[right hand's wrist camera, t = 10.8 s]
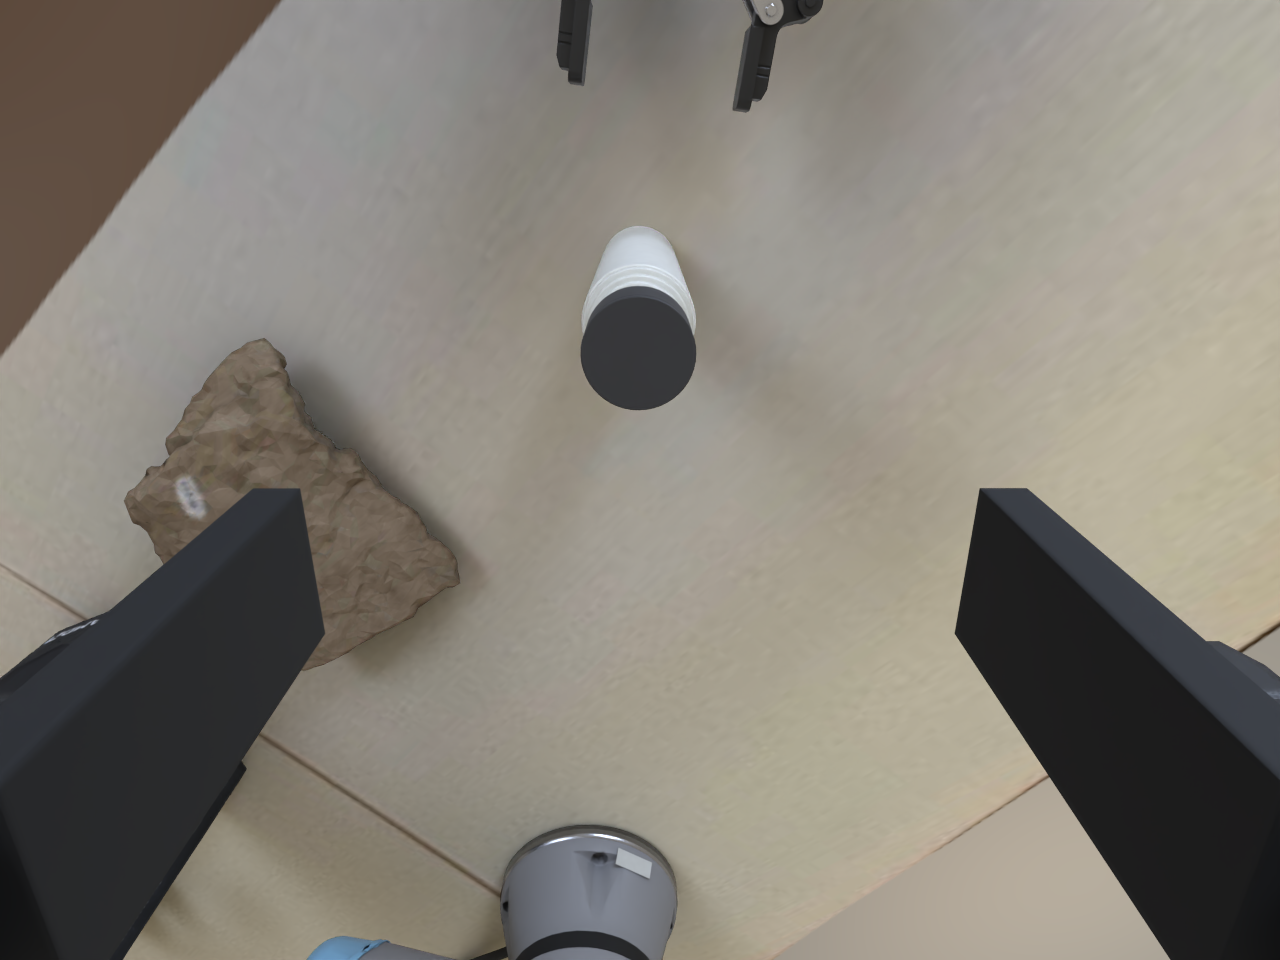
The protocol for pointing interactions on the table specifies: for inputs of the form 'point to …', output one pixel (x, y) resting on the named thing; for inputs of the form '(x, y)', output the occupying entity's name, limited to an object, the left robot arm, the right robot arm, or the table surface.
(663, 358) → the cap
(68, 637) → the graphics card box
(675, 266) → the bottle
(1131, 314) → the table surface
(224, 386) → the stone
